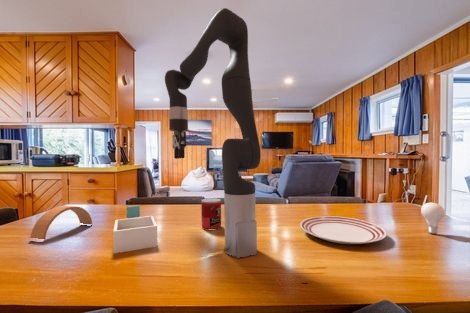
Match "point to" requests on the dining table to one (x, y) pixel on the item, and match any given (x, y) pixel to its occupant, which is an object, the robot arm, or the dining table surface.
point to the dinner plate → (343, 230)
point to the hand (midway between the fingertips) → (179, 158)
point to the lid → (133, 211)
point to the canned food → (211, 213)
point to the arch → (49, 216)
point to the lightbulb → (432, 216)
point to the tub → (134, 234)
